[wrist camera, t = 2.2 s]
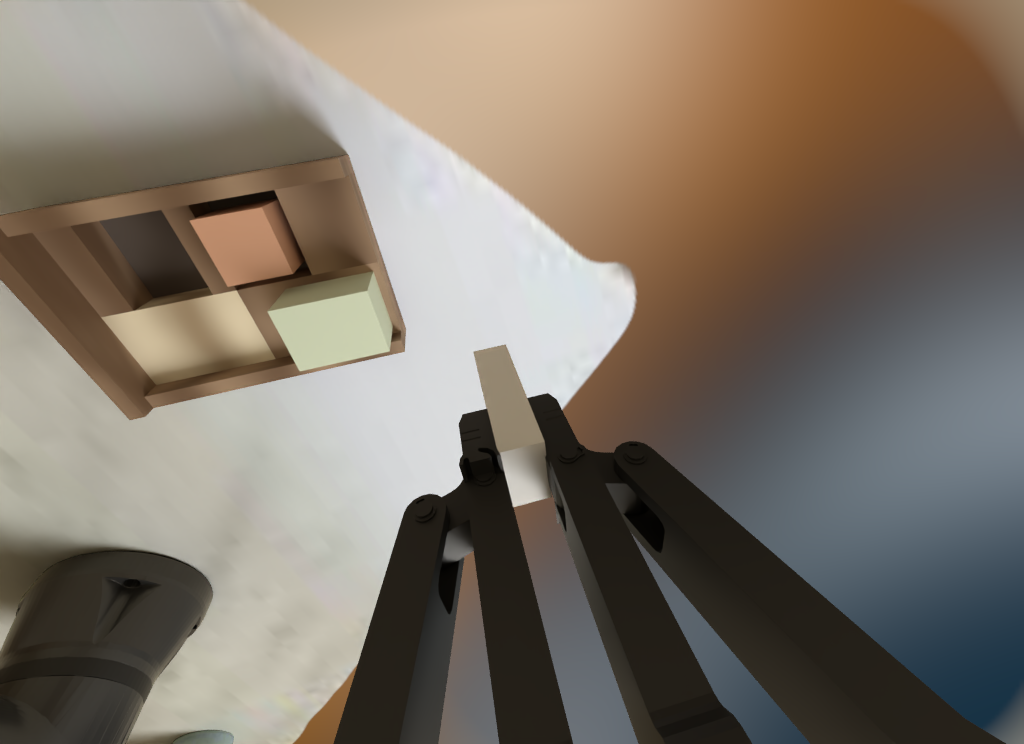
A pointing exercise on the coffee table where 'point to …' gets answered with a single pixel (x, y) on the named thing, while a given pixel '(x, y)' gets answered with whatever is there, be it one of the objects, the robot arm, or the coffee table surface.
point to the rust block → (249, 242)
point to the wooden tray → (183, 281)
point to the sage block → (333, 321)
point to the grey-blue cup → (206, 738)
